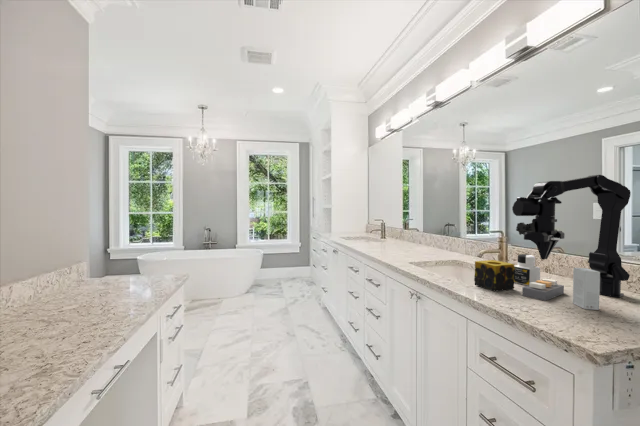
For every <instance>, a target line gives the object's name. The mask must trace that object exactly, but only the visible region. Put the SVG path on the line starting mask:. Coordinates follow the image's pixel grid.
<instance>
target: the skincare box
mask: <svg viewBox="0 0 640 426" xmlns="http://www.w3.org/2000/svg"><path fill="white" fill-rule="evenodd" d="M572 271H573V272H572V273H573V275H572V276H573V277H572V278H573V279H572V304H574V305H575V306H577V307H579V308H582V309H584V310H593V311H594V310H595V311H597V310H598V311H600V295H601V294H600V272H598V271H595V270H591V268H587V267H586V268H585V267H573V270H572Z"/></svg>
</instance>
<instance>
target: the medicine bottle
mask: <svg viewBox="0 0 640 426" xmlns="http://www.w3.org/2000/svg"><path fill="white" fill-rule="evenodd" d="M538 280H541V267H539V266H536V256H535V255H532V254H527V253H526V254H523V253H522V254H518V255H517V264H514V284H519V285H524V286H528V285H529V283H531V282H536V281H538Z"/></svg>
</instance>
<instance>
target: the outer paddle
mask: <svg viewBox="0 0 640 426" xmlns="http://www.w3.org/2000/svg"><path fill="white" fill-rule="evenodd" d="M529 287H533V288H538V289H545V288H546V284H541V283H536V282H531V283H529Z"/></svg>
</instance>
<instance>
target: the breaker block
mask: <svg viewBox="0 0 640 426" xmlns="http://www.w3.org/2000/svg"><path fill="white" fill-rule="evenodd" d="M564 286H565V285H563V284H559V283H557V285H552V286H551V287H546V288H545V289H538V288H533V287H529V285H528V286H527V285H524V286H523V287H522V290H521V291H522V292H521V293H522V295H521V296H523V297H527V298H531V299H535V300H540V301H545V302H546V301H549V300H551V299H554V298H556V297H558V296H561V295H563V294H564V293H565V287H564Z"/></svg>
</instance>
